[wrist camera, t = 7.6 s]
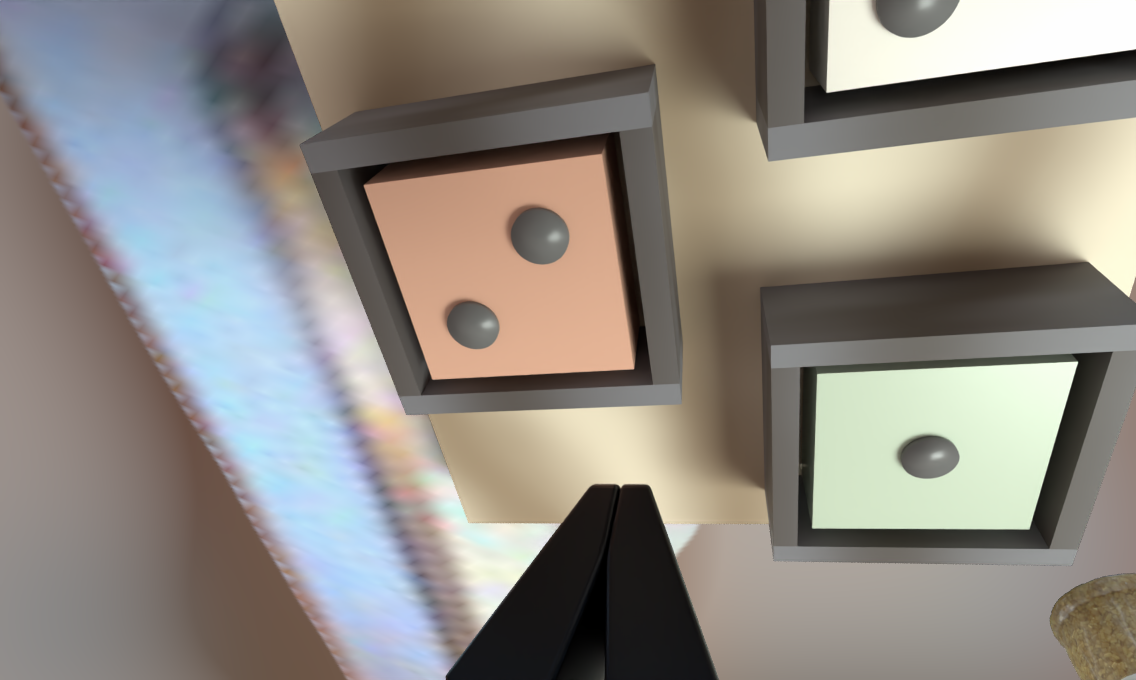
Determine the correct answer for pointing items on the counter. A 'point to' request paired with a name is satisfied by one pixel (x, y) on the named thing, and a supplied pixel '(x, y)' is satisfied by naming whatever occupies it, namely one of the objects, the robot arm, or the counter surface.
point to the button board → (748, 246)
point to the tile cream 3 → (956, 36)
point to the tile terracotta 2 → (513, 257)
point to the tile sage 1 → (931, 441)
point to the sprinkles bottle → (1099, 627)
